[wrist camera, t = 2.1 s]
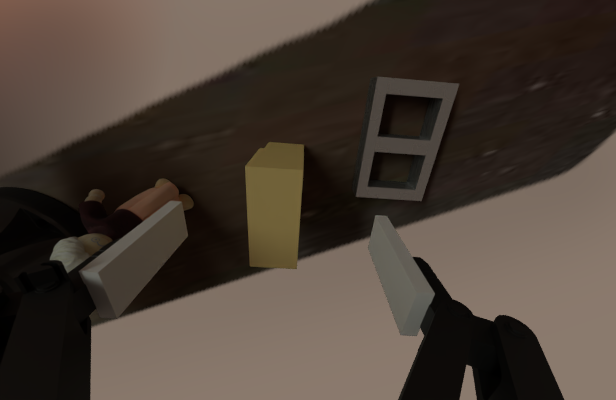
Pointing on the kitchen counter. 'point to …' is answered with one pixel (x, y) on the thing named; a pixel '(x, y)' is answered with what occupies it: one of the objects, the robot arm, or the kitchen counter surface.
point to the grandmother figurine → (114, 221)
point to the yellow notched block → (274, 204)
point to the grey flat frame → (402, 137)
